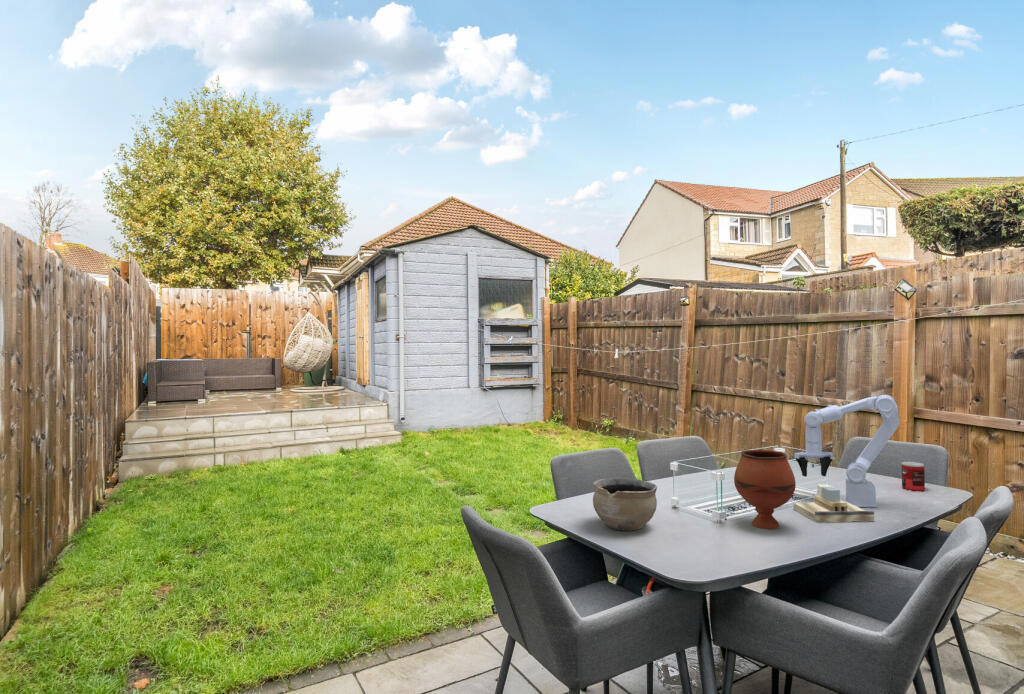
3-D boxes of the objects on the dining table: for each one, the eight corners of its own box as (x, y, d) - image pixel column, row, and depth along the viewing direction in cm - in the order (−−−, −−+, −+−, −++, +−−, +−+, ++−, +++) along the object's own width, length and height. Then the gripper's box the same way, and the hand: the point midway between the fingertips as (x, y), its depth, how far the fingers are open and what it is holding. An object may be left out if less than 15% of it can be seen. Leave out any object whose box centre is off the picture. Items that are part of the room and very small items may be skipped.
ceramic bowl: (579, 525, 194) (579, 482, 194) (619, 513, 208) (619, 473, 208) (631, 542, 177) (630, 495, 177) (671, 527, 191) (670, 483, 191)
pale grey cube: (833, 498, 203) (833, 487, 203) (840, 501, 199) (839, 490, 199) (822, 498, 203) (822, 487, 203) (828, 501, 199) (828, 490, 199)
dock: (846, 508, 209) (846, 499, 209) (874, 521, 193) (874, 511, 193) (793, 509, 209) (793, 500, 209) (816, 522, 193) (816, 512, 193)
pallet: (829, 502, 208) (828, 494, 208) (847, 511, 197) (847, 503, 197) (814, 503, 208) (814, 495, 208) (832, 511, 197) (831, 503, 197)
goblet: (722, 521, 197) (721, 450, 197) (764, 514, 203) (763, 446, 204) (765, 537, 179) (764, 460, 179) (809, 529, 186) (808, 455, 186)
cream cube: (829, 495, 207) (828, 484, 208) (833, 498, 204) (832, 487, 204) (817, 495, 208) (817, 484, 208) (821, 497, 204) (821, 487, 204)
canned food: (905, 486, 241) (904, 460, 241) (927, 489, 235) (926, 463, 235) (899, 489, 236) (898, 463, 236) (921, 492, 230) (921, 466, 230)
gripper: (825, 440, 226) (826, 473, 226) (790, 440, 226) (790, 473, 226) (836, 442, 219) (836, 477, 219) (799, 443, 219) (799, 477, 219)
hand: (814, 475), depth 222 cm, fingers open, 7 cm apart
